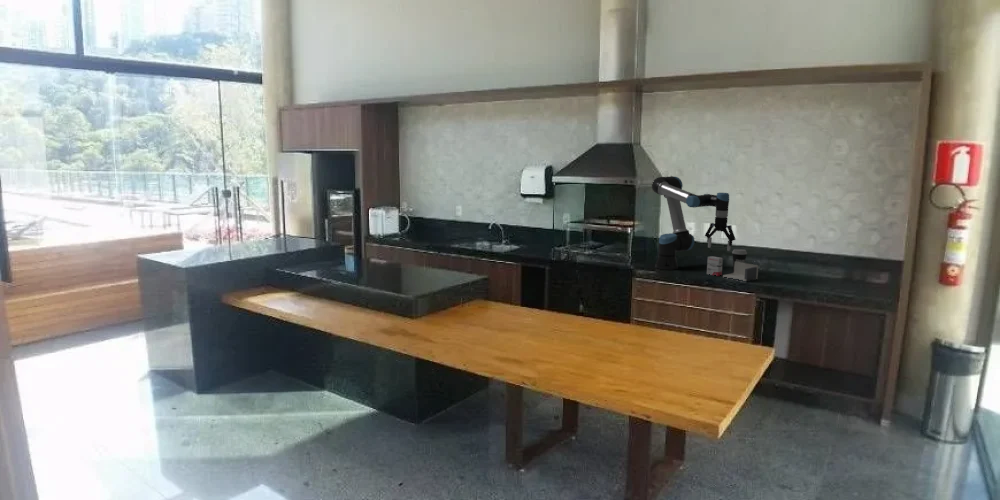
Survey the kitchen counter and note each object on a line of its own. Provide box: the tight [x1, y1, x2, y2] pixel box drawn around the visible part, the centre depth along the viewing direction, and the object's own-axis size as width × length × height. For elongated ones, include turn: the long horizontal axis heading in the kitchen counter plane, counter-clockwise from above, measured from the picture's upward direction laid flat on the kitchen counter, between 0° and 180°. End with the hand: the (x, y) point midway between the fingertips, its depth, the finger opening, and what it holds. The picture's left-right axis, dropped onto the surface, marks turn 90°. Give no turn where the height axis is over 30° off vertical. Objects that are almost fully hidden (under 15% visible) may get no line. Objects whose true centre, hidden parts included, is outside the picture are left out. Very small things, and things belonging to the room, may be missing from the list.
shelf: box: [722, 261, 759, 282], centre depth 371 cm, size 16×13×9 cm
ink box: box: [706, 255, 724, 277], centre depth 382 cm, size 8×5×12 cm, turn 39°
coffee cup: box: [731, 248, 748, 273], centre depth 388 cm, size 10×10×15 cm
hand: (718, 249), depth 378 cm, fingers open, 13 cm apart
